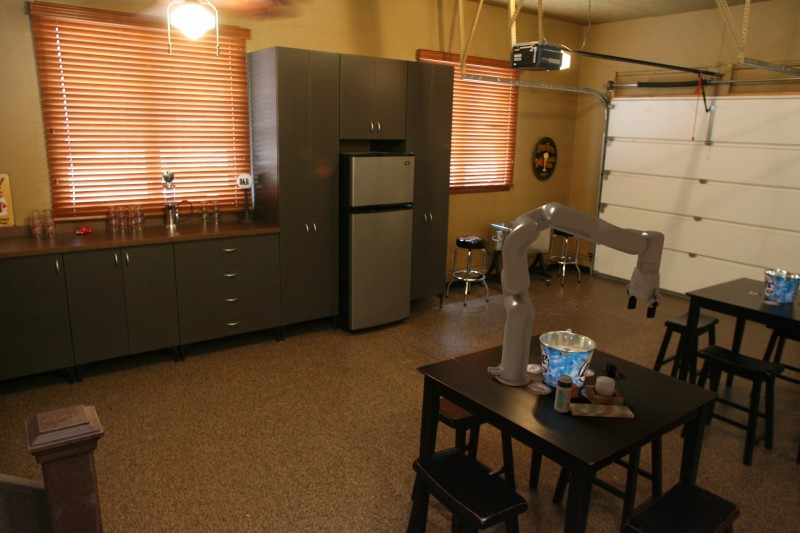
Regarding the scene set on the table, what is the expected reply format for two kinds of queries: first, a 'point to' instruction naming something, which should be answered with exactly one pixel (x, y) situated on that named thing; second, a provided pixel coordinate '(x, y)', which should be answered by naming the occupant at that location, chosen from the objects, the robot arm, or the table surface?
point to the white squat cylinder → (604, 386)
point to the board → (600, 410)
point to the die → (574, 390)
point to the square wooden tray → (602, 400)
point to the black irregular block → (610, 370)
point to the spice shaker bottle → (563, 393)
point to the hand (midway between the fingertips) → (640, 313)
